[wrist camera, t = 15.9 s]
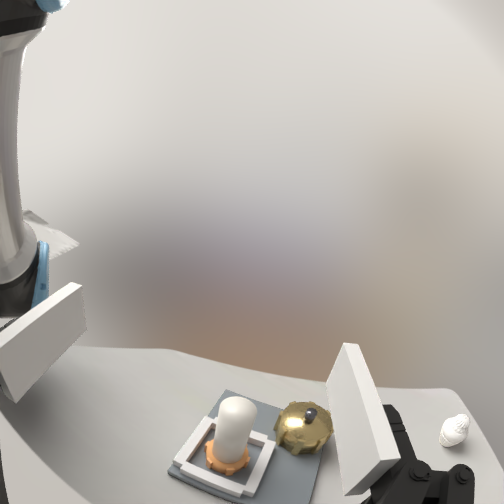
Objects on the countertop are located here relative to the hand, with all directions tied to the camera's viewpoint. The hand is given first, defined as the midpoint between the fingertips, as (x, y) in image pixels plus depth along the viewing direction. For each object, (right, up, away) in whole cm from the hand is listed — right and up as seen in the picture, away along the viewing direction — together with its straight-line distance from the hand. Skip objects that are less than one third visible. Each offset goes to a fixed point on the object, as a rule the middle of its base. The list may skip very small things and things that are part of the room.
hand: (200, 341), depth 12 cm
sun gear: (+9, -24, +23) cm, 35 cm away
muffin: (+38, -31, +20) cm, 53 cm away
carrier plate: (+3, -24, +20) cm, 31 cm away
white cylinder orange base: (-1, -23, +17) cm, 29 cm away
